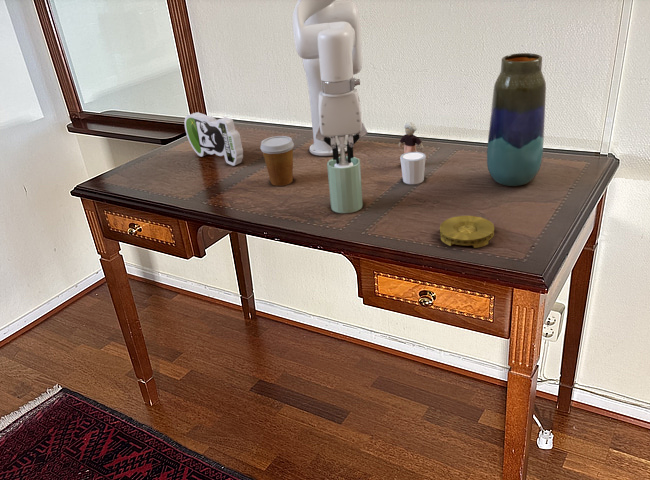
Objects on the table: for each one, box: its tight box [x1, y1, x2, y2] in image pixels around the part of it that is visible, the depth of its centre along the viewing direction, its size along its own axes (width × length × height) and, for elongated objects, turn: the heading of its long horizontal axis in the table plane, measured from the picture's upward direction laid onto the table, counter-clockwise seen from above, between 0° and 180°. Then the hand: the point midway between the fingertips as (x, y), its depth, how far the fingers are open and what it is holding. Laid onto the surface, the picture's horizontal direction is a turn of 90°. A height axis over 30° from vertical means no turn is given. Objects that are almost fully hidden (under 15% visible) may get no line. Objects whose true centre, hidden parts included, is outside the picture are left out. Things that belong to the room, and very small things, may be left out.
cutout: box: [183, 111, 244, 166], centre depth 199 cm, size 15×3×25 cm
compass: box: [439, 215, 495, 249], centre depth 143 cm, size 12×12×2 cm
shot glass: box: [399, 151, 427, 185], centre depth 171 cm, size 7×7×7 cm
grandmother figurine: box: [398, 121, 424, 154], centre depth 179 cm, size 8×4×13 cm, turn 68°
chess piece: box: [334, 135, 353, 168], centre depth 155 cm, size 5×5×10 cm
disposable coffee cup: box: [259, 135, 295, 187], centre depth 178 cm, size 10×10×12 cm
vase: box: [486, 52, 547, 187], centre depth 159 cm, size 14×14×31 cm
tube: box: [326, 155, 364, 214], centre depth 160 cm, size 8×8×12 cm
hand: (343, 161), depth 156 cm, fingers closed on chess piece
